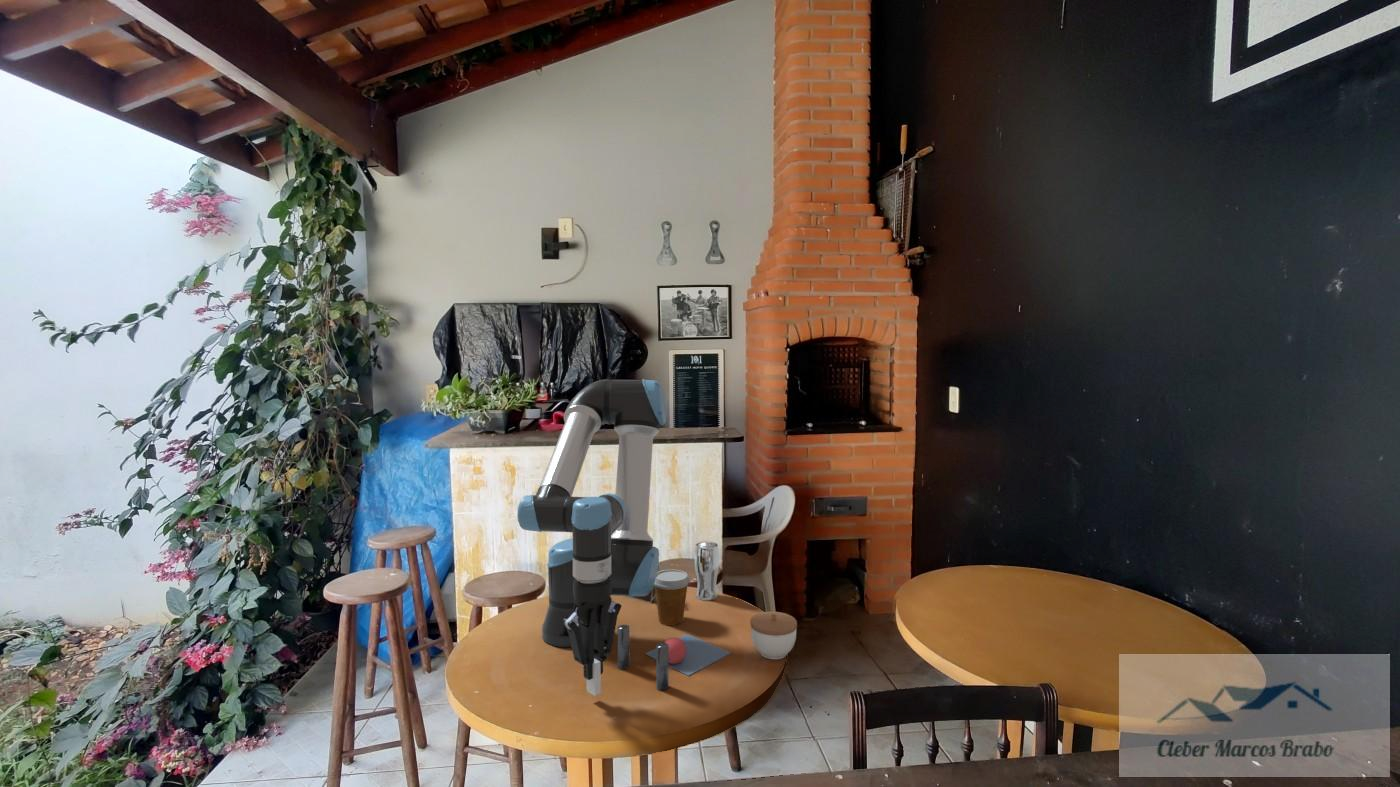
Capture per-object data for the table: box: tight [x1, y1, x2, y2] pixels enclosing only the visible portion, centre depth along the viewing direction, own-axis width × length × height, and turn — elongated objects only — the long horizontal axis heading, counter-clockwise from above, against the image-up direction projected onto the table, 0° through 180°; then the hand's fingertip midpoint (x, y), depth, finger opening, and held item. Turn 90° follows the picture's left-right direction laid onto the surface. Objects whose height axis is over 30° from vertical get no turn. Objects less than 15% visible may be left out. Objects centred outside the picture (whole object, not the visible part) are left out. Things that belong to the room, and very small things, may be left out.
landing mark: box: [645, 633, 732, 677], centre depth 147 cm, size 14×14×1 cm
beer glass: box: [694, 540, 720, 602], centre depth 180 cm, size 7×7×15 cm
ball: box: [664, 637, 686, 664], centre depth 143 cm, size 6×6×6 cm
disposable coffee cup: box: [654, 568, 690, 626], centre depth 164 cm, size 10×10×12 cm
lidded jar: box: [749, 611, 798, 660], centre depth 147 cm, size 11×11×9 cm
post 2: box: [655, 642, 670, 692], centre depth 132 cm, size 3×3×9 cm
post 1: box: [617, 624, 630, 671], centre depth 140 cm, size 3×3×9 cm
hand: (593, 691), depth 127 cm, fingers closed
